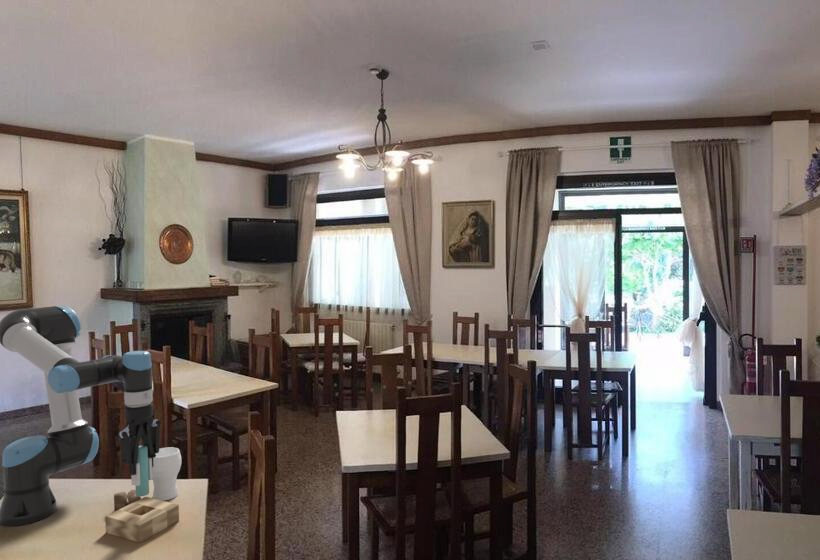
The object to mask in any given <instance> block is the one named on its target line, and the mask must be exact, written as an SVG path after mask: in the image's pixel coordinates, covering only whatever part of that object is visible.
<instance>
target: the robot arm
mask: <svg viewBox="0 0 820 560" xmlns="http://www.w3.org/2000/svg"><path fill="white" fill-rule="evenodd" d="M81 330H82V325H81V320H80V318H79V316H78V313H76V311H75V310H73V308H71V307H70V306H66V305H64V306H63V305H61V306H60V305H59V306H58V305H55V306H45V307H34V308H23V309H22V308H21V309H17V310H14V311H12V312H9V313H8V314H6V315H5V316H4V317H3V318H2V319H0V345H1V346H2V347H4V348H5V349H6V350H7V351H9V352H12V353H18V354H19V355H20V356H22V357H23V358H24V359H26V360H27V361H29V362H30V363H31V364H33V365H34V366H35V367H37V368H38V369H39V370H40V371H42V372H43V374H44V380H45V387H46V394H47V399H48V407H49V415H50V420H51V426H50V428H49V429H48V430H47V435H48V436H45V435H41V434H37V435H33V436H27V437H23V438H19V439H17V440H14V441H13V442H11V443H9V444H8V445H6V447H5V448H4V449H3V452H2V460H1V466H2V475H3V476H2V477H3V480H2V481H3V496H2V497H3V498H2V500H1V503H0V504H1V505H0V525H2V526H7V527H10V526H11V527H15V526H23V525H28V524H32V523H36V522H39V521H41V520H44V519H46V518H48V517H50V516H51V515H53V514H54V513H55V512H56V511H57V507H58V505H57V499H56V498H55V496H54V494H53V490H52V489H51V487H50V476H51V475H55V474H57V473H61V472H64V471H67V470H70V469H73V468H76V467H81V466H82V465H84V464H85V465H86V464H87V463H89V462H91V461H93V460H94V458H95V457H96V455H97V454H98V452H99V446H100V444H99V443H100V441H99V435H98V433H97V430H96V429H95V428H94V427H92V426H89V422H88V421H86V420H85V419H83V417H82V412H81V411H82V410H81V404H80V397H79V390H82V389H87V388H92V387H95V386H102V385H106V384H111V383H116V382H118V383H123V392H124V393H123V394H124V395H123V397H124V400H123V401H124V405H125V407H124V415H125V416H124V417H125V420H126V424H125V427H124V429H123V430H118V431H117V436H118V438H119V443H120V454H121V462H122V464H125V465H128V471H129V472H128V474H129V475H130V476H131V485H133V486H135V487H136V486H139V485H140V463H137V457H138V448H139V446H140V441H142V446H143V445H145V446H147V448H148V473H149V481H153V480H152V467H153V465H154V463H153V458H155V457H156V455H155V454H156V453H158V452H159V449H160V428H161V424H162V420H161V419H160V420H159V419H154V418H153V415H154V404H153V401H154V399H153V398H154V397H153V396H154V395H153V363H152V356H151V353H150V352H149V351H147V350H132V351H127V352H125V353H123V355H122V356H120V355H117V354H111V355H110V354H109V355H105V356H103V357H101V358H99V359H98V358H97V359H90V360H87V361H81V362H80V361H78V360H77V359H75V358H74V357H73V353H72V352H73V351H72V348H73V347H74V346H75V344H76V340H75V339H77V338H78V337H79V336H80V334H81Z"/></svg>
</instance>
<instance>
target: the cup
mask: <svg viewBox="0 0 820 560" xmlns="http://www.w3.org/2000/svg"><path fill="white" fill-rule="evenodd" d="M155 455H156V457H155V458H153V463H154V465H153V467H152V480H151V481H153V484H152V485H153V493H152V498H153V499H157V500H161V501H165V502H166V501H169V500H172V499H174V498H176V497H177V496H178V495H179V493H178V487H177V477H178V474H179V472H180V470H181V468H182V455H181V451H180V449H179V448H178V447H173V446H171V447H169V446H168V447H161V448H160V447H159V452H158V453H156V454H155Z"/></svg>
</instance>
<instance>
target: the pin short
mask: <svg viewBox="0 0 820 560" xmlns="http://www.w3.org/2000/svg"><path fill="white" fill-rule="evenodd" d="M127 494H128V492H126V491H120V492H117V493H115V494H114V495H113V505H114V506H113V507H114V511H113V512H115V511H117V510H119V509H121V508H123V507H125V506H127V505H128V499H127Z"/></svg>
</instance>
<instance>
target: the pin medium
mask: <svg viewBox="0 0 820 560" xmlns="http://www.w3.org/2000/svg"><path fill="white" fill-rule="evenodd" d="M141 497H142V496H136V489H130V490H129V491H128V492H127V503H128V505H130V504H132V503H134V502H136V501H138V500H140V499H142V498H141Z"/></svg>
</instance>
